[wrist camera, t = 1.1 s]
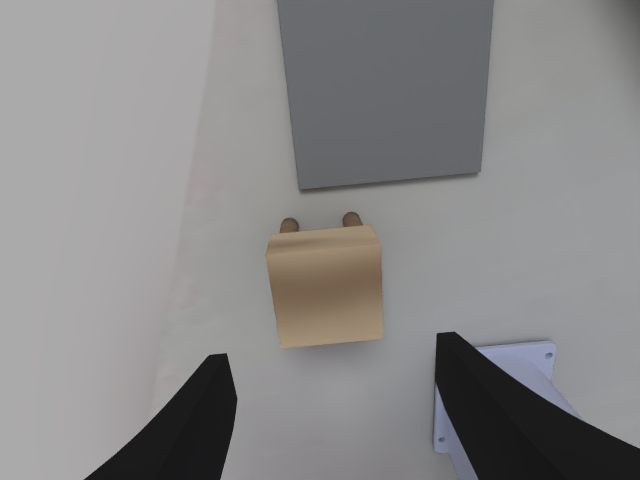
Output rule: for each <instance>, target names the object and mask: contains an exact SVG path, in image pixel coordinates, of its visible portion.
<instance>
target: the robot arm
mask: <svg viewBox="0 0 640 480" xmlns="http://www.w3.org/2000/svg"><path fill="white" fill-rule="evenodd" d="M556 350H557V346H556V345H555V344H554V343H553V342H552V341H538V342H527V343H517V344H506V345H495V346H485V347H473V346H472V345H471V344H469V343H468V342H467V341H466V340H464V339H463V338H462V337H461V336H460V335H458V334H457V333H456V332H446V333H437V341H436V368H435V382H436V387H435V414H434V441H433V446H434V450H435V452H437V453H449V455H450V457H451V460H452V462H453V465H454V467H455V470H456V472H457V475H458V477H459V480H640V449H639V448H637V447H635V446H632V445H630V444H628V443H626V442H624V441H622V440H620V439H618V438H616V437H613V436H611V435H609V434H607V433H605V432H604V431H602V430H600V429H598V428H596V427H594V426H592V425H590V424H588V423H586V422H585V421H584V420H583V419H582V418H581V417H580V416H579V414H578V413H577V412H576V411H575V410H574V409H573V407H572V406H571V405H570V404H569V403H568V401H567V400H566V399H565V398H564V397H563V396H562V394H561V393H560V392H559V391H558V390H557V389H556V387H555V386H554V385H553V384H552V383H551V377H552V372H553V366H554V361H555V356H556ZM547 353H548V354H547ZM546 354H547V355H546ZM236 406H237V395H236V391H235V386H234V382H233V378H232V374H231V369H230V365H229V361H228V356H227V353H224V354H214V355H209V356H208V357H207V358H206V359H205V360H204V361H203V363H202V364H201V365H200V366H199V367H198V368H197V370H196V371H195V372H194V373H193V374H192V376H191V377H190V378H189V379H188V380H187V382H186V383H185V384H184V385H183V386H182V387H181V389H180V390H179V391H178V392H177V393H176V394H175V395H174V396H173V398H172V399H171V400H170V401H169V402H168V403H167V404H166V405H165V406H164V408H163V409H162V410H161V411H160V412H159V413H158V414H157V415H156V416H155V417H154V418H153V419H152V420H151V421H150V422H149V423H148V424H147V425H146V426H145V427H144V428H143V429H142V430H141V431H140V432H139V433H138V434H137V435H136V436H135V437H134V438H133V439H132V440H131V441H130V442H128V443H127V444H126V445H125V446H124V447H123V448H122V449H121V450H120V451H119V452H117V453H116V454H115V455H114V456H113V457H111V458H110V459H109V460H108V461H106V462H105V463H104V464H103V465H102V466H100V467H99V468H98V469H97V470H96V471H94V472H93V473H92V474H90V475H89V476H88V477H87V478H85V479H84V480H220V479H221V475H222V471H223V467H224V463H225V460H226V456H227V452H228V448H229V444H230V440H231V436H232V432H233V428H234V421H235V414H236Z"/></svg>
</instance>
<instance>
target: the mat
mask: <svg viewBox="0 0 640 480" xmlns="http://www.w3.org/2000/svg"><path fill="white" fill-rule="evenodd" d="M277 2H278V10H279V19H280V28H281V36H282V45H283V54H284V63H285V71H286V80H287V89H288V97H289V106H290V115H291V123H292V132H293V141H294V149H295V158H296V167H297V176H298V184H299V190H300V189H310V188H320V187H331V186H341V185H352V184H362V183H372V182H383V181H393V180H403V179H414V178H424V177H434V176H445V175H455V174H465V173H476V172H481V162H482V149H483V135H484V122H485V109H486V96H487V83H488V69H489V56H490V43H491V30H492V17H493V3H494V0H277Z"/></svg>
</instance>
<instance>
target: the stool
mask: <svg viewBox="0 0 640 480" xmlns="http://www.w3.org/2000/svg"><path fill="white" fill-rule="evenodd" d="M343 224H344V227H342V228H332V229H322V230H311V231H301V232H298V223H297V221H296V220H295V219H293V218H287V219H285V220H283V222H282V224H281V229H280V233H279V234H271V237H270V241H269V244H268V248H267V252H266V260H267V266H268V272H269V278H270V284H271V291H272V297H273V303H274V309H275V315H276V322H277V328H278V334H279V340H280V346H281V348H292V347H302V346H313V345H324V344H334V343H345V342H356V341H366V340H377V339H384V336H383V303H382V270H381V243H380V241H379V239H378V237H377V235H376V233H375V231H374V229H373V227H372V225H363V224H362V222H361V220H360V217H359V215H358V214H357V213H355V212H349V213H347V214H345V216H344V217H343Z"/></svg>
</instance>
